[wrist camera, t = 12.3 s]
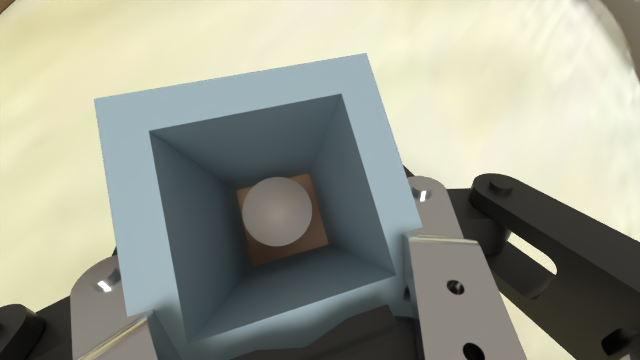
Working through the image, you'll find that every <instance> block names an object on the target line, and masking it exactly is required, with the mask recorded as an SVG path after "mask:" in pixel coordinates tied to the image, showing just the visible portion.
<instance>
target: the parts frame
mask: <svg viewBox="0 0 640 360" xmlns="http://www.w3.org/2000/svg"><path fill="white" fill-rule="evenodd" d="M13 1H14V0H0V13H1V12H2V11H3V10H4V9H5V8H6V7H7V6H8V5H9V4H11V3H12V2H13Z"/></svg>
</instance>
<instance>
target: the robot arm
mask: <svg viewBox="0 0 640 360" xmlns="http://www.w3.org/2000/svg"><path fill="white" fill-rule="evenodd" d="M403 168H404V171H405V174H406V177H407V180H408V183H409V186H410V189H411V192H412V195H413V198H414V201H415V204H416V207H417V211H418V214H419V217H420V220H421V223H422V226H423V227H421V228H418V229H414V230H411V231H408V232H404V233H403V300H406V301H409V302H411V304H412V312H413V317H405V316H393V314H392V312H391V310H390V308H389V306H388V304H386V305H383V306H380V307H378V308H375V309H372V310H369V311H366V312H363V313H361V314H358V315H355V316H352V317H349V318H347V319H345V320H344V321H342V322H341V323H340V324H338V325H337V326H335V327H334V328H333V329H331V330H330V331H328V332H327V333H325V334H324V335H323V336H321V337H320V338H318V339H317V340H316V341H314V342H313V343H311V344H310V345H308V346H306V347H302V348H287V349H270V350H256V351H253V352H250V353H247V354H244V355H241V356H239V357H236V358H233V359H230V360H527V358H526V356H525V353H524V351H523V348H522V346H521V344H520V341H519V339H518V336H517V334H516V331H515V329H514V327H513V324H512V322H511V319H510V317H509V314H508V312H507V310H506V307H505V305H504V302H503V300H502V297H501V295H500V293H499V291H500V292H501V293H502V294H503V295H504V296H505V297H507V298H508V299H509V300H510V301H511V302H512V303H513V304H514V305H516V306H517V307H518V308H519V309H520V310H521V311H522V312H523V313H524V314H526V315H527V316H528V317H529V318H530V319H531V320H532V321H533V322H535V323H536V324H537V325H538V326H539V327H540V328H541V329H542V330H544V331H545V332H546V333H547V334H548V335H549V336H550V337H551V338H553V339H554V340H555V341H556V342H557V343H558V344H559V345H560V346H562V347H563V348H564V349H565V350H566V351H567V352H568V353H569V354H571V355H572V356H573V357H574V358H575V359H576V360H640V242H638V241H636V240H634V239H632V238H630V237H629V236H627V235H625V234H623V233H621V232H619V231H617V230H615V229H613V228H611V227H609V226H607V225H605V224H603V223H601V222H599V221H597V220H595V219H593V218H591V217H589V216H587V215H585V214H583V213H581V212H579V211H578V210H576V209H574V208H572V207H570V206H568V205H566V204H564V203H562V202H560V201H558V200H556V199H554V198H552V197H550V196H548V195H546V194H544V193H542V192H540V191H538V190H536V189H534V188H532V187H530V186H528V185H527V184H525V183H523V182H521V181H519V180H517V179H514V178H512V177H509V176H506V175H502V174H495V173H488V174H482V175H479V176H477V177H476V178H475V179H474V181H473V184H472V187H471V188H467V189H446V188H445V187H444V186H443V185H442V184H441V183H440V182H438V181H436V180H434V179H432V178H428V177H423V176H414V175H413V174H412V173H411V172H410V171H409V170H408V169H407V168H406V167H405V166H404V165H403ZM511 232H513V233H515V234H516V235H518V236H519V237H521V238H522V239H523V240H525V241H526V242H528V243H529V244H531V245H532V246H534V247H535V248H537V249H538V250H540V251H541V252H543V253H544V254H546V255H547V256H548V257H549V258H550V259H551V260H552V261H553V262H554V264H555V265H556V268H557V274H556V275H555V274H553V273H551V272H550V271H549V270H547V269H546V268H544V267H543V266H542V265H540V264H539V263H537V262H536V261H535V260H533V259H532V258H530V257H529V256H528V255H526V254H525V253H523V252H522V251H521V250H519V249H518V248H516V247H515V246H514V245H512V244H511V243H509V242H508V241H507V240H508V238H509V236H510V234H511ZM0 360H182V358H181V357H180V355H179V353H178V352H177V350H176V348H175V346H174V345H173V343H172V341H171V340H170V338H169V336H168V334H167V333H166V331H165V329H164V327H163V326H162V324H161V322H160V321H159V319H158V317H157V315H156V314H155V312H154V310H153V309H152V310H149V311H145V312H142V313H139V314H136V315H132V316H129V317H127V312H126V306H125V299H124V293H123V286H122V280H121V273H120V266H119V260H118V253H117V247H116V248H115V250H114V252H113V254H112V256H111V257H108V258H106V259H104V260H102V261H100V262H98V263H97V264H95V265H94V266H92V267H91V268H90V269H88V270H87V271H86V272H85V273H84V274H83V275H82V276H81V277H80V278H79V279H78V280H77V282H76V283H75V284H74V286H73V288H72V290H71V294H70V296H68V297H66V298H64V299H62V300H60V301H58V302H56V303H54V304H52V305H50V306H48V307H46V308H44V309H42V310H40V311H38V312H36V313H34V312H33V311H31V310H30V309H28V308H27V307H25V306H23V305H21V304H11V305H7V306H3V307H0Z"/></svg>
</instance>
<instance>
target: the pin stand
mask: <svg viewBox="0 0 640 360" xmlns="http://www.w3.org/2000/svg"><path fill="white" fill-rule="evenodd" d="M236 193H237V197H238V202H239V206H240V210H241V215H242V219H243V224H244V228H245V233H246V237H247V241H248V246H249V250H250V255H251V259H252V264H253V267H254V266H257V265H260V264H264V263H267V262H271V261H274V260H277V259H281V258H284V257H287V256H291V255H294V254H298V253H301V252H304V251H308V250H311V249H315V248H318V247H321V246H325V245H328V240H327V236H326V233H325V229H324V225H323V222H322V218H321V214H320V211H319V207H318V203H317V199H316V196H315V192H314V188H313V185H312V181H311V177H310V174H309V173H306V174H302V175H297V176H293V177H289V178H284V177H272V178H268V179H265V180H263V181H261V182H259V183H257V184H256V185H255V186H252V187H248V188H244V189H240V190H236Z"/></svg>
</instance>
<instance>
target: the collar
mask: <svg viewBox="0 0 640 360" xmlns="http://www.w3.org/2000/svg"><path fill="white" fill-rule="evenodd" d="M94 102H95V109H96V115H97V122H98V128H99V135H100V142H101V148H102V155H103V161H104V168H105V174H106V181H107V188H108V194H109V201H110V207H111V214H112V220H113V227H114V234H115V240H116V247H117V253H118V260H119V266H120V273H121V280H122V286H123V293H124V299H125V306H126V312H127V317H129V316H132V315H136V314H139V313H142V312H145V311H149V310H152V309H153V310H154V312H155V314H156V315H157V317H158V319H159V321H160V322H161V324H162V326H163V327H164V329H165V331H166V333H167V334H168V336H169V338H170V340H171V341H172V343H173V345H174V346H175V348H176V350H177V352H178V353H179V355H180V357H181V358H182V360H230V359H233V358H236V357H239V356H241V355H244V354H247V353H250V352H253V351H256V350H270V349H287V348H302V347H306V346H308V345H310V344H311V343H313V342H314V341H316V340H317V339H318V338H320V337H321V336H323V335H324V334H325V333H327V332H328V331H330V330H331V329H333V328H334V327H335V326H337V325H338V324H340V323H341V322H342V321H344V320H345V319H347V318H349V317H352V316H355V315H358V314H361V313H363V312H366V311H369V310H372V309H375V308H378V307H380V306H383V305H386V304H388V306H389V308H390V310H391V312H392V314H393V316H405V317H413V312H412V304H411V302H409V301H406V300H403V233H404V232H408V231H411V230H414V229H418V228H421V227H423V226H422V223H421V220H420V217H419V214H418V211H417V207H416V204H415V201H414V198H413V195H412V192H411V189H410V186H409V183H408V180H407V177H406V174H405V171H404V168H403V164H402V161H401V158H400V155H399V152H398V149H397V146H396V143H395V140H394V137H393V134H392V131H391V128H390V124H389V121H388V118H387V115H386V112H385V109H384V106H383V103H382V100H381V97H380V94H379V91H378V88H377V85H376V81H375V78H374V75H373V72H372V69H371V66H370V63H369V60H368V57H367V54H366V53H364V54H358V55H352V56H346V57H340V58H334V59H328V60H322V61H316V62H311V63H305V64H299V65H293V66H287V67H281V68H275V69H269V70H263V71H257V72H251V73H245V74H239V75H233V76H227V77H221V78H215V79H210V80H204V81H198V82H192V83H186V84H180V85H174V86H168V87H162V88H156V89H150V90H144V91H138V92H132V93H126V94H120V95H114V96H109V97H103V98H97V99H94ZM306 173H309V174H310V177H311V181H312V185H313V188H314V192H315V196H316V199H317V203H318V207H319V211H320V214H321V218H322V222H323V225H324V229H325V233H326V236H327V240H328V245H325V246H321V247H318V248H315V249H311V250H308V251H304V252H301V253H298V254H294V255H291V256H287V257H284V258H281V259H277V260H274V261H271V262H267V263H264V264H260V265H257V266H254V267H253V264H252V259H251V255H250V250H249V246H248V241H247V237H246V233H245V228H244V224H243V219H242V215H241V210H240V206H239V202H238V197H237V193H236V190H240V189H244V188H248V187H252V186H255V185H256V184H257V183H259V182H261V181H263V180H265V179H268V178H272V177H284V178H289V177H293V176H297V175H302V174H306Z"/></svg>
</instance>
